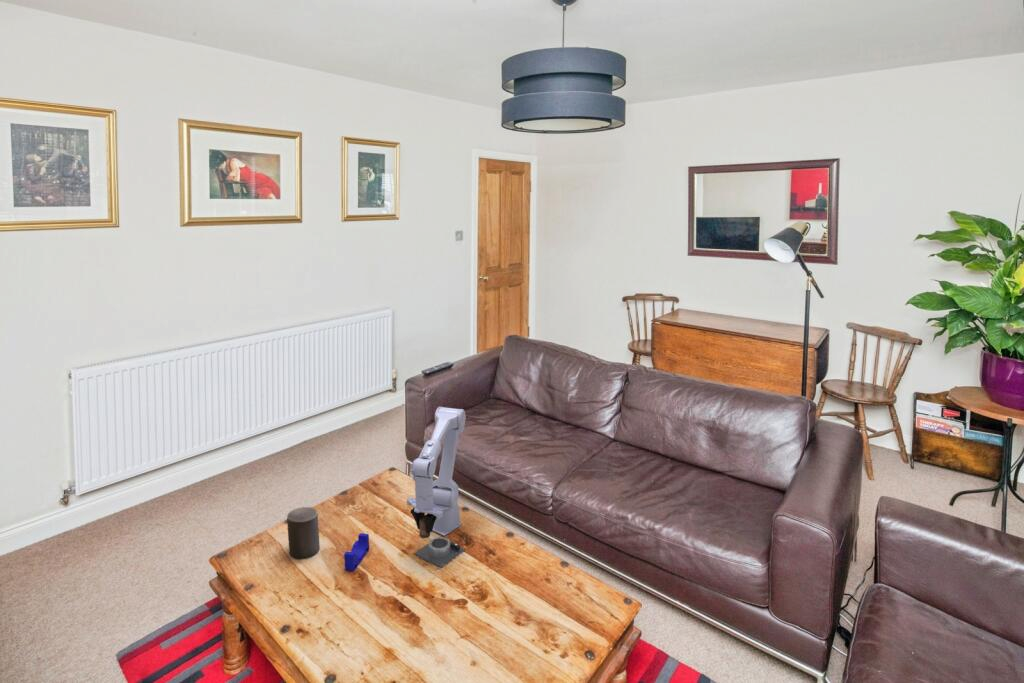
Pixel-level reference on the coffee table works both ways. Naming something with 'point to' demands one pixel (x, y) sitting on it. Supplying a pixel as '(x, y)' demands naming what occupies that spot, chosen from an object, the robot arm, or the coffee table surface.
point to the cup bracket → (439, 551)
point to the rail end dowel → (423, 528)
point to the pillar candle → (303, 532)
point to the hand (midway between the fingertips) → (425, 530)
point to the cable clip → (357, 552)
